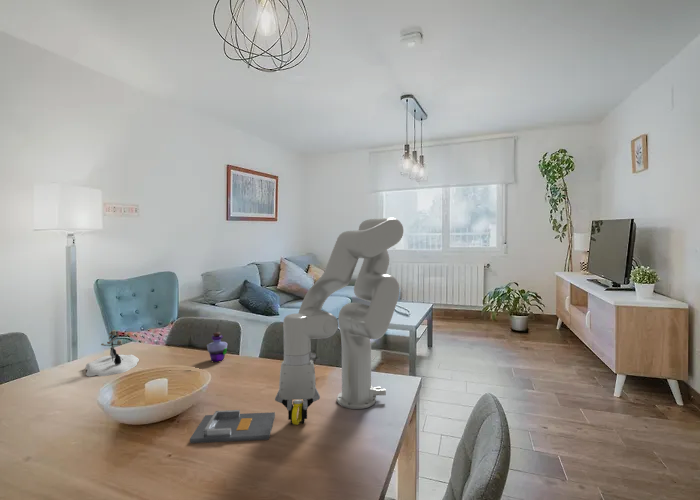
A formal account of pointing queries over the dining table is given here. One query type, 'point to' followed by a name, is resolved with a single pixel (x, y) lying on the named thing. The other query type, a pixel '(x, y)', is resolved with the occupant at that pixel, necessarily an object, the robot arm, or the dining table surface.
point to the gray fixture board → (233, 427)
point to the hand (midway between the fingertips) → (297, 421)
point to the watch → (294, 412)
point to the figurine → (111, 361)
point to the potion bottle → (217, 348)
